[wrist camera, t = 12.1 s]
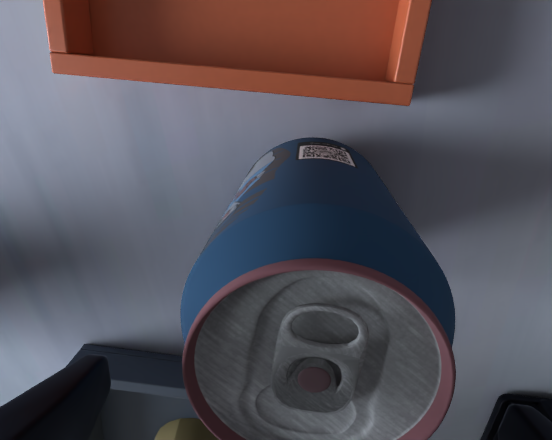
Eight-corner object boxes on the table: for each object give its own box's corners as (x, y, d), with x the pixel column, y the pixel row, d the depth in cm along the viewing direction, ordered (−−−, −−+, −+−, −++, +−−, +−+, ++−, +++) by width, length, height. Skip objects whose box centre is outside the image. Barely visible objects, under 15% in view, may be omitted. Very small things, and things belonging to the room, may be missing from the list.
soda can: (362, 270, 20) (431, 516, 9) (237, 251, 20) (152, 468, 9) (395, 144, 17) (549, 268, 6) (250, 123, 18) (153, 208, 6)
